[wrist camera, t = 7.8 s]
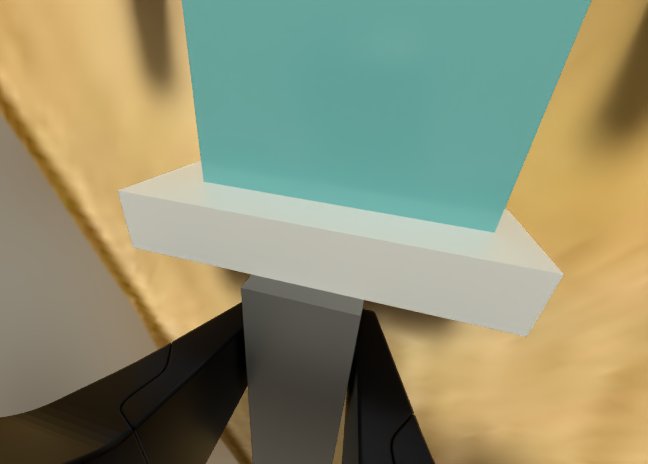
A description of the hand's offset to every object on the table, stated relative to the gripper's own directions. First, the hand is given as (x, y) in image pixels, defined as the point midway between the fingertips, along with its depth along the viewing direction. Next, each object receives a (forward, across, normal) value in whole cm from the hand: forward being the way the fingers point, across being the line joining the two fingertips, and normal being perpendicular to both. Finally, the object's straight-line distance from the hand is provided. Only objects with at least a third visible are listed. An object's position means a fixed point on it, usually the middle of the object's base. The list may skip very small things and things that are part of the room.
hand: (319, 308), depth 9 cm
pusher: (+1, 0, +1) cm, 1 cm away
